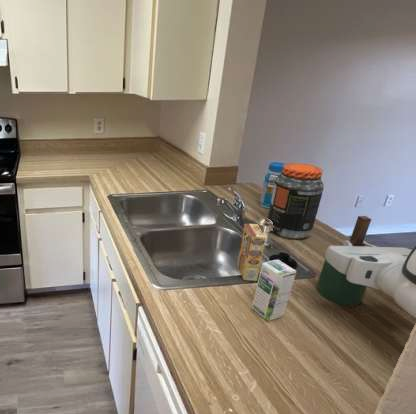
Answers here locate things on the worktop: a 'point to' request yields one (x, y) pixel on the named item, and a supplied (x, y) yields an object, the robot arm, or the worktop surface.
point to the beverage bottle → (270, 183)
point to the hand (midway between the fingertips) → (352, 242)
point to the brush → (360, 230)
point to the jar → (339, 287)
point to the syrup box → (273, 289)
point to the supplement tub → (296, 200)
